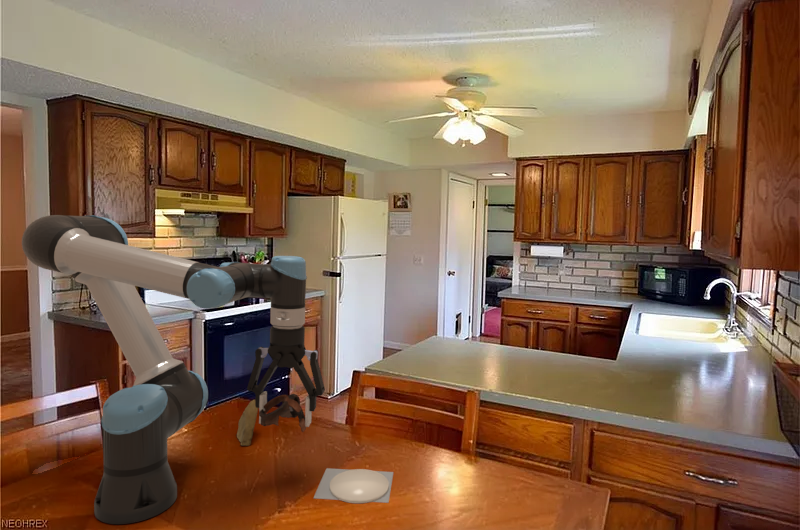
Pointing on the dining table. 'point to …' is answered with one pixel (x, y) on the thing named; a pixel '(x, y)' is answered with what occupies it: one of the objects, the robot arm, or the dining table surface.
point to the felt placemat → (329, 474)
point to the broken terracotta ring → (283, 410)
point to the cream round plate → (359, 486)
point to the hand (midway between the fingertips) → (285, 422)
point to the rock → (247, 424)
